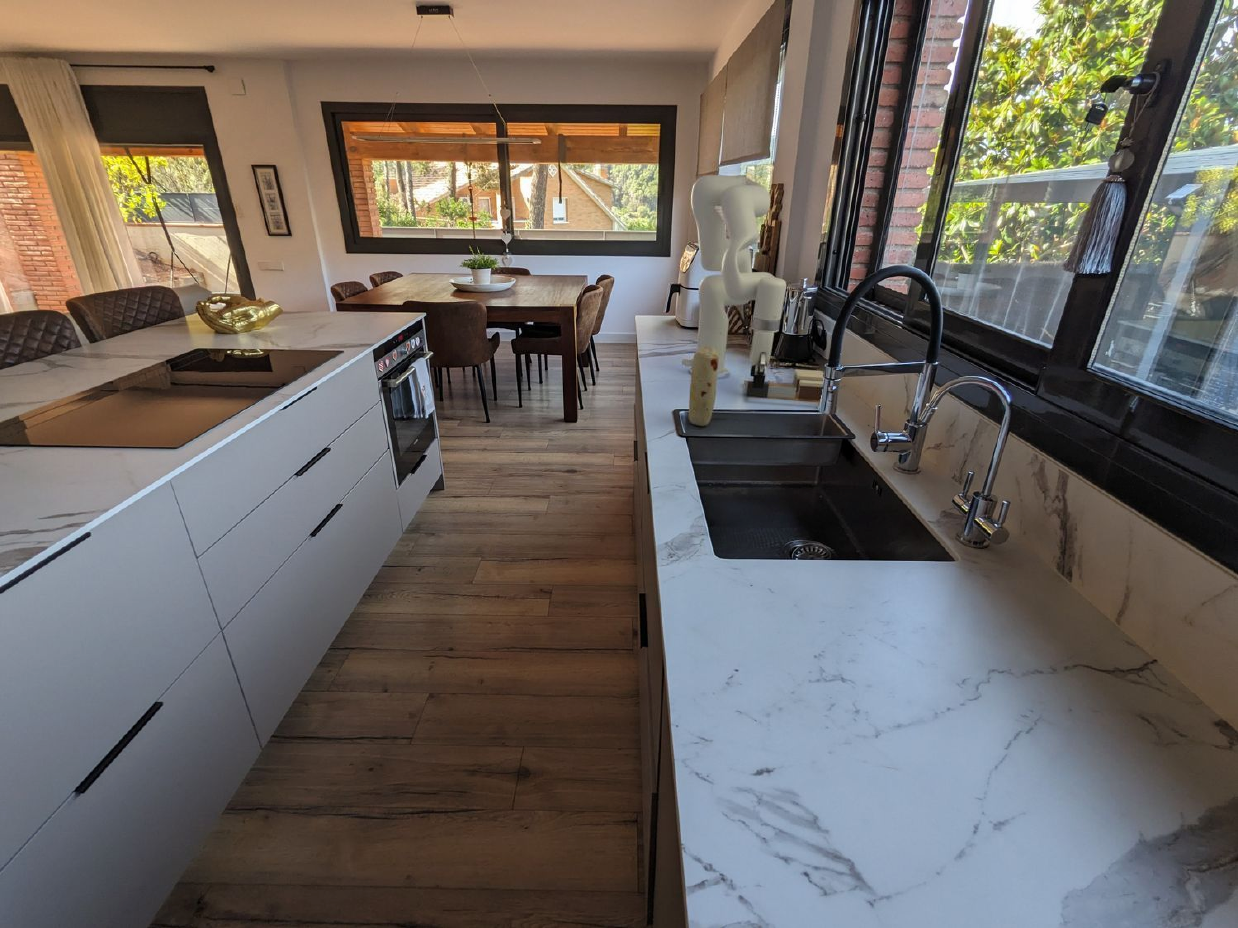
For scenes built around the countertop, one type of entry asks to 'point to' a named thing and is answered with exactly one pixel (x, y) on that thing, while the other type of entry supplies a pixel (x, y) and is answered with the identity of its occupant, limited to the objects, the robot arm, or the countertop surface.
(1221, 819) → the countertop surface
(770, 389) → the knife
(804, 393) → the cake slice
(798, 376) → the cake
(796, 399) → the cutting board
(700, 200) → the robot arm
